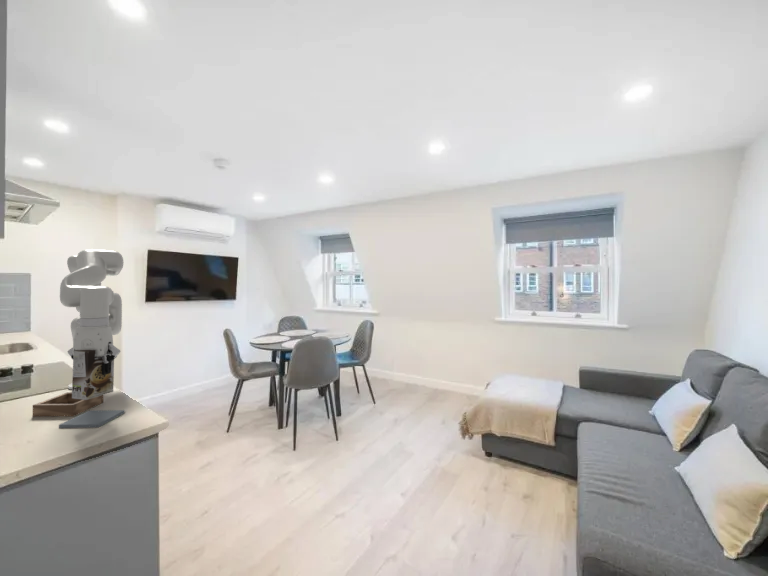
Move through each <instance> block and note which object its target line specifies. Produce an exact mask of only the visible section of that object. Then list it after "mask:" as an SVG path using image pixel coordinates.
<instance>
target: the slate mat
mask: <svg viewBox="0 0 768 576" xmlns="http://www.w3.org/2000/svg"><path fill="white" fill-rule="evenodd" d="M125 411H126V410H124V409H113V410H111V409H107V410H106V409H104V410H103V409H99V410H98V409H96V410H90V409H88V410H86V411H84V413H83V412H82V413H80V414H78V415H76V416H74V417H73V418H71V419H68V420H66V421H63V422H62V423H60V424H58V428H59V429H61V428H62V429H64V428H65V429H68V428H69V429H71V428H75V429H76V428H85V429H87V428H92V429H93V428H100V427H101V426H103V425H105V424H107V423H109V422H111V421H112V420H114V419H116V418H118V417H119V415H120V416H121V414H122V415H123V414H125V413H126V412H125ZM124 412H125V413H124ZM117 416H118V417H117Z"/></svg>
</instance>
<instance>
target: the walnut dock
mask: <svg viewBox="0 0 768 576" xmlns="http://www.w3.org/2000/svg"><path fill="white" fill-rule="evenodd" d="M103 403H104V395H101V396H98V397H94V398H91V399H88V400H82V399H74V398H72V391H70V392H65V393H62V394H59V395H56V396H54V397H51V398H48V399H46V400H43V401H41V402H38V403H35V404H33V405H32V417H34V418H35V417H36V418H37V417H43V418H44V417H76V416H78V415H80V414H82V413H83V412H84V413H85V412H87V411H89V410H90V409H92V408H95V407H96V406H98V405H101V404H103Z"/></svg>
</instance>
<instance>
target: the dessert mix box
mask: <svg viewBox="0 0 768 576" xmlns="http://www.w3.org/2000/svg"><path fill="white" fill-rule="evenodd" d="M107 351H109V352H110V349H108V350H107ZM112 354H113V352H112V353H111V355H112ZM106 357H107V356H106ZM103 363H104V362H103V360H102V358H101V357H96V352H95V350H75V351H73V359H72V382H71V383H72V389H71V392H72V398H74V399H82V400H88V399H91V398H94V397H98V396H101V395H103V396H104V395H107V394H111V393H114V386H115V385H114V379H115V376H114V375H115V373H114V372H115V359H114V360H113V361H112V362H111V373H109V374H106V375H102V364H103Z"/></svg>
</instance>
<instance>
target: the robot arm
mask: <svg viewBox="0 0 768 576" xmlns="http://www.w3.org/2000/svg"><path fill="white" fill-rule="evenodd" d="M66 263H67V264H66V265H67V269H68V271H69V272H70V273H69V274H67V275H66V276H64V278H63V279H62V280H61V282H60V285H59V301H60V303H61V305H62V306H64V307H67V308H75V309H76V312H78V313H79V316H77V317H76V318H74V319H73V320H72V321H71V322H70V330H71V337H72V347H71V348H70V349H68V350H67V354H68V355H69V356H70V358H71V359H72V360H73V351H75V350H95V352H96V357H101V358H102V360H103V362H104V363H103V364H102V375H106V374H109V373H111V362H112V361H113V360H114V361H115V359H117V357H118V355H119V354H120V353H121V349H119V348H118V347H116V346H115V345H114V336H115V335H118V334H120V332H121V331H122V323H123V322H122V320H123V319H122V317H123V310H122V309H123V303H122V302H123V301H122V300H123V299H122V297H121V295H120V294H119V293H117V292H114V290H113V289H111V287H109V286H106V285H105V286H104V285H102V283H103V281H104V280H105V279H106V278H107V276H108V277H109V276H110V277H111V276H114V277H115V276H118V275H120V273H121V271H122V270H123V267H124V257H123V255H122V254H121V253H120V252H119V251H115V250H108V249H107V250H106V249H95V248H94V249H93V248H91V249H84V250H81V251H79V252H78V254H76V255H71V256H68V258H67V261H66ZM108 349H110V352H109V351H107V350H108ZM112 352H113V354H112V355H111V353H112ZM106 356H107V357H106ZM67 388H68V389H69V390H72V382H71V383H70V384H68V385H67Z"/></svg>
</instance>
